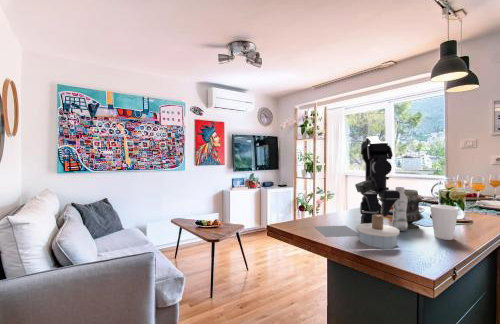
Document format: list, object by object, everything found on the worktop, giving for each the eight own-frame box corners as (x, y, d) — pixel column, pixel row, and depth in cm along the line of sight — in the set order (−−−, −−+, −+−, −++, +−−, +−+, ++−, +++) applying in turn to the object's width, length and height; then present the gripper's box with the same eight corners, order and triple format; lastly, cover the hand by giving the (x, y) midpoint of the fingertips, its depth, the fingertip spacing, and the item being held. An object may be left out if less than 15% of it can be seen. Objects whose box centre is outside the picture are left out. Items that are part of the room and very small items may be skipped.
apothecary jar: (405, 222, 132) (405, 188, 132) (428, 228, 121) (428, 191, 121) (387, 224, 129) (387, 189, 128) (409, 231, 117) (409, 192, 117)
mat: (345, 226, 125) (345, 225, 125) (362, 237, 109) (362, 235, 109) (313, 227, 124) (313, 226, 124) (325, 238, 108) (325, 236, 108)
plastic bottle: (405, 229, 120) (406, 186, 120) (409, 233, 114) (409, 188, 114) (390, 228, 123) (390, 186, 122) (393, 231, 116) (393, 188, 116)
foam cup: (450, 242, 102) (450, 209, 102) (425, 236, 110) (425, 206, 110) (462, 238, 106) (462, 207, 106) (437, 232, 114) (438, 204, 114)
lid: (384, 225, 109) (384, 211, 109) (408, 236, 94) (408, 219, 94) (350, 226, 108) (350, 211, 108) (369, 237, 93) (369, 220, 93)
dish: (383, 237, 108) (383, 226, 108) (404, 248, 95) (404, 235, 95) (353, 238, 107) (353, 226, 107) (370, 249, 94) (370, 236, 94)
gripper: (347, 172, 109) (347, 209, 109) (371, 175, 90) (371, 219, 91) (372, 172, 110) (372, 208, 110) (401, 175, 91) (400, 219, 92)
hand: (377, 213), depth 101 cm, fingers open, 9 cm apart
